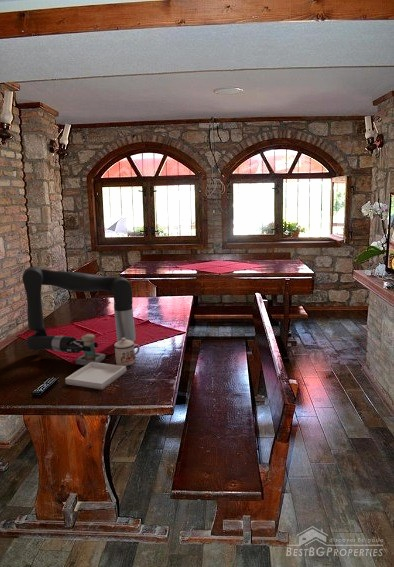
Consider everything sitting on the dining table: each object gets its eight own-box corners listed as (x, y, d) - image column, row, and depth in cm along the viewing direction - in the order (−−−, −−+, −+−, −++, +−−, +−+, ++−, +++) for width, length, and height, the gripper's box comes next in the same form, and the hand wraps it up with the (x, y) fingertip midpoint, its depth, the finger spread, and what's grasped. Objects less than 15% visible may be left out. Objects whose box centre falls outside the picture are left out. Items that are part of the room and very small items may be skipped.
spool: (89, 357, 213) (86, 333, 210) (100, 359, 211) (97, 334, 208) (81, 362, 208) (78, 338, 205) (92, 364, 205) (89, 339, 203)
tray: (92, 367, 202) (91, 361, 201) (126, 371, 195) (126, 366, 194) (65, 384, 186) (65, 378, 185) (102, 389, 179) (101, 383, 178)
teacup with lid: (121, 368, 199) (118, 343, 196) (112, 362, 206) (109, 338, 204) (145, 360, 206) (143, 336, 203) (135, 355, 213) (133, 332, 210)
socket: (88, 356, 215) (88, 352, 215) (105, 358, 212) (104, 354, 211) (75, 363, 207) (75, 359, 206) (93, 366, 203) (92, 361, 203)
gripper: (52, 341, 206) (83, 344, 199) (72, 331, 219) (102, 334, 212) (54, 356, 208) (85, 360, 201) (74, 346, 221) (103, 349, 214)
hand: (93, 347), depth 207 cm, fingers closed on spool, 4 cm apart
